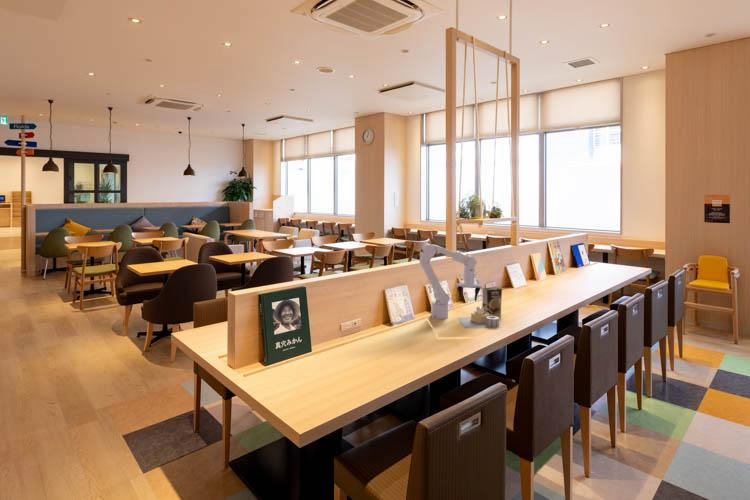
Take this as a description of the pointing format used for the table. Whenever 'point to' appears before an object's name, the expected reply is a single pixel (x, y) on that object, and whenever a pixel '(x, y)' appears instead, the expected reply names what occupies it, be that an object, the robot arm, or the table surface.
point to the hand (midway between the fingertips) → (468, 300)
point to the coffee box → (492, 300)
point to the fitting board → (473, 324)
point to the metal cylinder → (480, 310)
